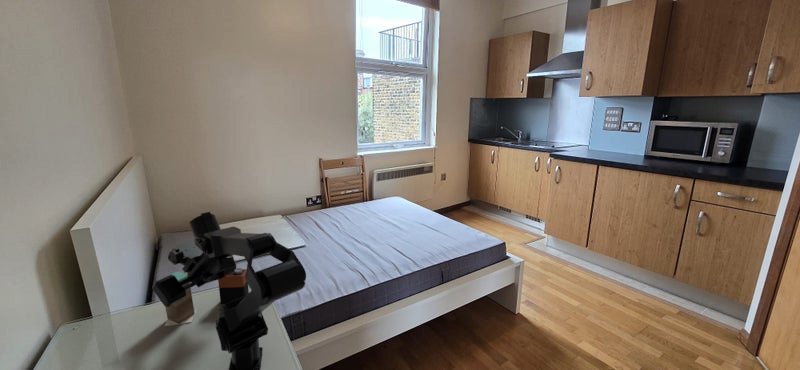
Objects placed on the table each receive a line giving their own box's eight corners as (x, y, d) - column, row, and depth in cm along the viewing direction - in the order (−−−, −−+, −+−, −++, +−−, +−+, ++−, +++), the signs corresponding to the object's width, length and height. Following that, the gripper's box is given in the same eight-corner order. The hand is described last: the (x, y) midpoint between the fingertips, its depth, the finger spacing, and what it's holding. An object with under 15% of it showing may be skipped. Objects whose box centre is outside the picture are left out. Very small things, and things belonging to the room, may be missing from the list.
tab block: (194, 313, 90) (188, 275, 86) (178, 323, 86) (171, 283, 82) (183, 309, 91) (177, 271, 88) (167, 319, 87) (160, 279, 84)
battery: (245, 304, 95) (242, 273, 93) (220, 305, 94) (216, 274, 92) (249, 295, 100) (247, 265, 97) (225, 296, 99) (222, 266, 96)
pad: (190, 322, 87) (190, 321, 87) (164, 326, 85) (164, 325, 85) (196, 308, 92) (196, 307, 92) (172, 312, 90) (171, 311, 90)
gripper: (224, 223, 88) (199, 252, 94) (151, 250, 71) (127, 284, 77) (249, 255, 87) (222, 283, 93) (181, 291, 70) (154, 322, 76)
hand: (184, 291), depth 85 cm, fingers open, 9 cm apart
